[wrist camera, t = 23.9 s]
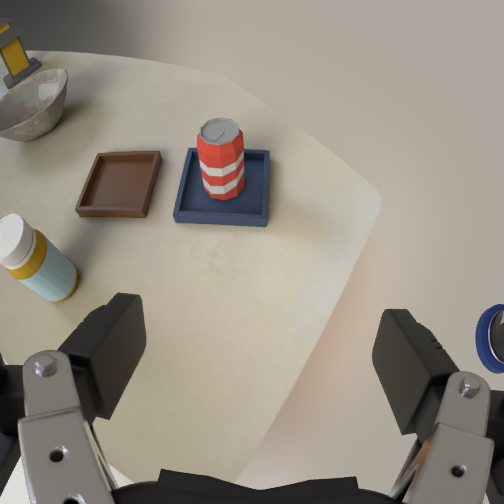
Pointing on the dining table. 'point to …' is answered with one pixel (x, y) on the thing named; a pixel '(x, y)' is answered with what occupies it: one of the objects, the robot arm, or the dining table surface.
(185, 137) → the dining table surface
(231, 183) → the beverage can
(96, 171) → the tray
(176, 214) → the tray
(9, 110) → the ceramic bowl
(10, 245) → the bottle
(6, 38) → the lantern
